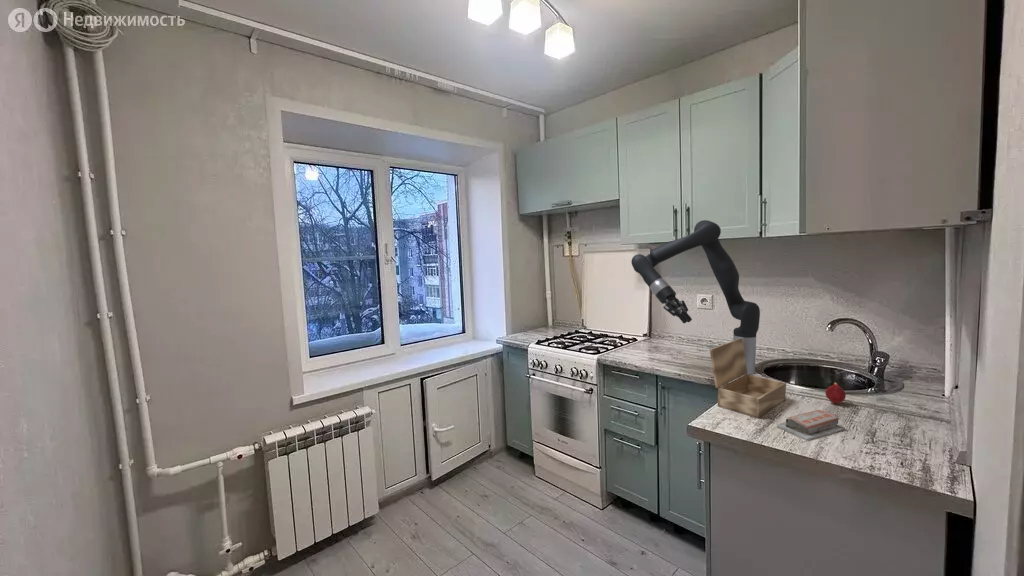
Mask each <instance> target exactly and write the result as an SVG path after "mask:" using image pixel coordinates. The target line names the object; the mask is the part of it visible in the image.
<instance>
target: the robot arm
mask: <svg viewBox="0 0 1024 576" xmlns="http://www.w3.org/2000/svg"><path fill="white" fill-rule="evenodd" d="M721 232H722V231H721V227H720V226H719V225H718V224H717V223H716V222H714V221H710V220H707V219H706V220H705V219H704V220H699V221H698V222H697V223H696V224H695V226H694V229H693V232H692V233H690V234H688V235H685V236H682V237H680V238H678V239H674V240H671V241H667V242H665V243H663V244H660V245H659V246H657V247H655V248H653V249H651V250H650V253H649V254H647V255H646V256H645V255H644V254H641V253H637V254H635V255H634V256H632V259H631V261H630V262H631V266H632V268H633V270H634V272H636V273H638V274H639V275H640V277H641V278H642V280H643V281H644V283H645V284H646V285H647V286H648V288H649V289H650V291H651V293H652V294H653V295H654V296H655V298H657V300H658V301H659V302H660V303H661V305H662V304H664V306H663V309H664V310H665V311H666V312H667V313H669V314H670V315H672V316H673V317H677V318H679V320H680V321H681V322H682V323H683V324H686V323H690V322H692V321H693V318H692V317H691V316H690V314H688V312H689V308H688V306H687V303H686V302H685V300H679V299H678V298H677V297H676V296H677V293H676V291H675V290H674V289H673V288H672V286H671V285H670V284H669V283H668V281H666V280H665V279H664V278H663V277H662V276H661V275H660V273H659V272H658V271H657V270H656V269H655V267H656V266H658V264H660V263H663V262H665V261H667V260H670V259H671V258H673V257H675V256H677V255H680V254H682V253H684V252H686V251H689V250H692V249H694V248H697V247H702V249H703V251H704V254H705V255H706V258H707V260H708V264H709V265H710V268H711V270H712V272H713V275H714V276H715V279H716V281H717V282H718V285H719V287H720V289H721V292H722V293H723V296H724V297H725V300H726V303H727V306H728V309H729V312H730V314H731V316H732V317H733V318H734V319H735V320H739V321H740V326H739V327H735V328H733V331H732V333H733V335H732V336H733V338H732V341H735V340H737V339H740V338H742V341H743V347H744V354H745V361H746V367H747V374H748V375H753V374H755V373H756V359H757V358H756V356H757V355H756V354H757V333H758V330H759V328H760V318H761V310H760V307H759V305H758V303H756V302H754V301H753V302H752V301H749V300H745V299H744V297H743V296H742V294H741V292H740V289H739V283H740V274H739V271H738V269H737V267H736V264H735V263H734V260H733V259H732V258H731V256H730V255H729V253H728V252H727V251H726V250H725V248H724V247H723V245H722V244H721V241H720V239H719V238H720V235H721V234H722V233H721Z"/></svg>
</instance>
